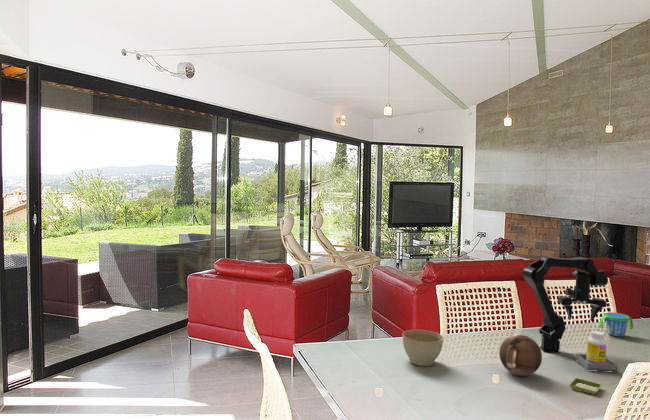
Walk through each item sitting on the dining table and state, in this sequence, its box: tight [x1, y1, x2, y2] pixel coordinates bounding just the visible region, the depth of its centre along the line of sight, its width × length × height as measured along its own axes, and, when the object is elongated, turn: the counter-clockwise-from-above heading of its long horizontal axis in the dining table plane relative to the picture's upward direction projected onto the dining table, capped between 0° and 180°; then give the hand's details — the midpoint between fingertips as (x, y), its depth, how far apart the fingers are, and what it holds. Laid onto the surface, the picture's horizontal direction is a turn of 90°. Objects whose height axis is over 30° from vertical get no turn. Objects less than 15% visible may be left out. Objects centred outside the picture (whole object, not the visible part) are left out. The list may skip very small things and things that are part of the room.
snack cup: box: [599, 312, 634, 338], centre depth 239 cm, size 16×10×10 cm
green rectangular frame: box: [569, 377, 602, 395], centre depth 173 cm, size 9×9×2 cm
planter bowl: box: [402, 329, 444, 367], centre depth 194 cm, size 16×16×11 cm
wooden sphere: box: [498, 334, 543, 377], centre depth 184 cm, size 15×15×15 cm
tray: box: [575, 353, 619, 373], centre depth 195 cm, size 11×11×3 cm
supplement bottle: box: [586, 330, 607, 364], centre depth 195 cm, size 7×7×13 cm
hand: (580, 320), depth 215 cm, fingers open, 9 cm apart
